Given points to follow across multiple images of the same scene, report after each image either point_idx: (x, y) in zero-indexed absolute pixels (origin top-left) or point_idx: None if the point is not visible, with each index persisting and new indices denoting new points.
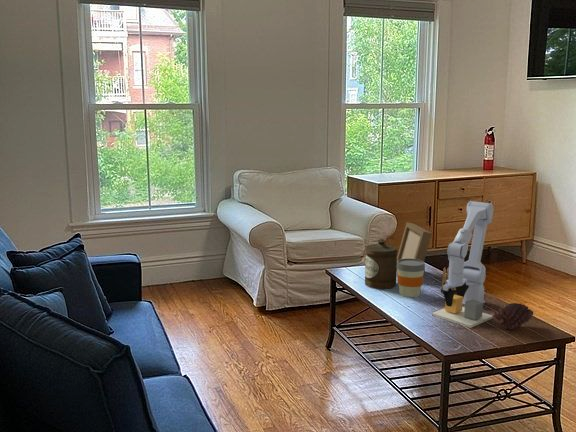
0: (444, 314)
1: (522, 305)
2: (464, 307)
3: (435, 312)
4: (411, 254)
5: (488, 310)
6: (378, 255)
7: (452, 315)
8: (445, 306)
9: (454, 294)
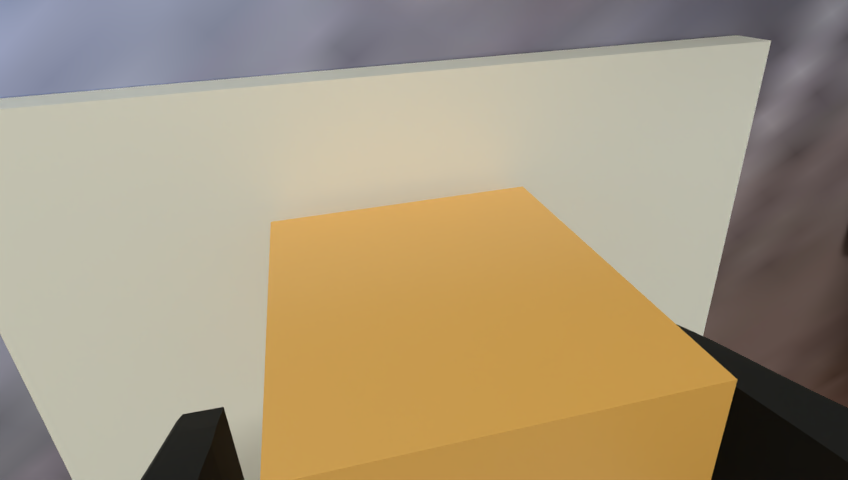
0: (137, 319)
1: None
2: (717, 249)
3: (22, 140)
4: None
5: (834, 386)
6: None
7: (241, 408)
8: (272, 277)
9: (716, 443)
